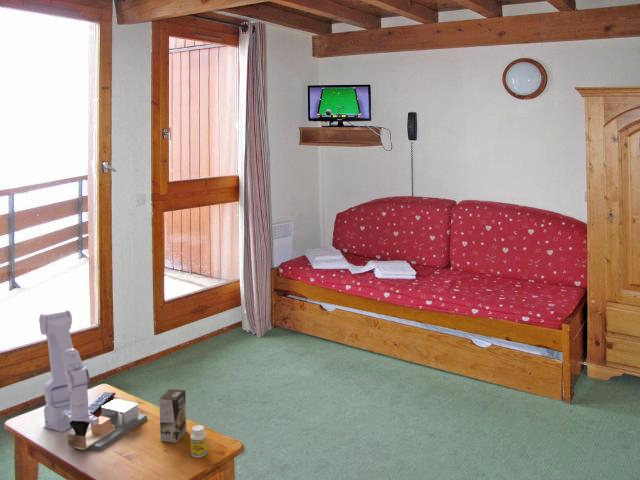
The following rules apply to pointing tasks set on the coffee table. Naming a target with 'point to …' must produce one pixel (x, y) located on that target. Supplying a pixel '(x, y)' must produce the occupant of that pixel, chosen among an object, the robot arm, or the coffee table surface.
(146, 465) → the coffee table surface
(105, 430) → the block
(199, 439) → the supplement bottle
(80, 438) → the sled
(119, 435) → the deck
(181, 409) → the coffee box
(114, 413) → the tunnel
